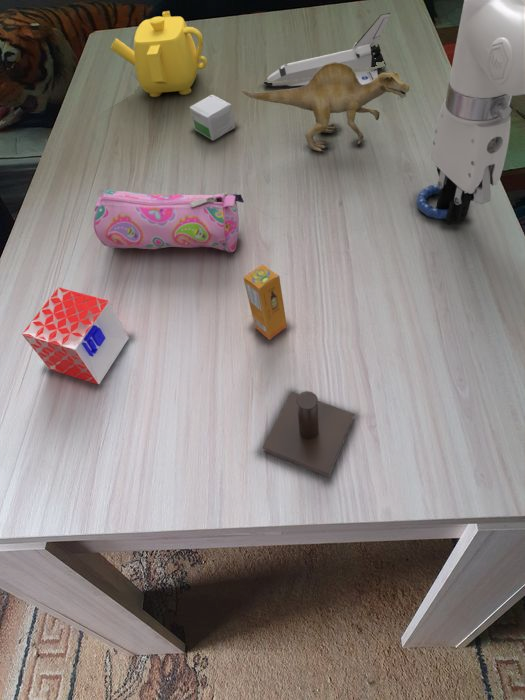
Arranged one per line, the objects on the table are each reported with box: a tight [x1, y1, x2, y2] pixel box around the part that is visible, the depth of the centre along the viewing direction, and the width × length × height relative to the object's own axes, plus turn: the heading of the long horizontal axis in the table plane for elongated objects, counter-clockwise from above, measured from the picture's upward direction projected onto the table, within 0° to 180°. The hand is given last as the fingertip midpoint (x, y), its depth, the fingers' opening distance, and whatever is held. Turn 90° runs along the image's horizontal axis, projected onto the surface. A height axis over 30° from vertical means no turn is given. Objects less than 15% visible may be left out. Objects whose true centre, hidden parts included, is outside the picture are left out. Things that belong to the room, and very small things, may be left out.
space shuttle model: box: [263, 12, 391, 89], centre depth 102 cm, size 16×25×10 cm, turn 96°
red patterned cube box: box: [21, 287, 130, 386], centre depth 68 cm, size 8×8×8 cm
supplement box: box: [243, 264, 288, 341], centre depth 66 cm, size 3×3×10 cm
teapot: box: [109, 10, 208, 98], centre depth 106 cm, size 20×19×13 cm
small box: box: [189, 94, 236, 142], centre depth 97 cm, size 6×6×5 cm
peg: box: [262, 390, 355, 478], centre depth 58 cm, size 8×8×8 cm
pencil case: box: [93, 189, 244, 253], centre depth 79 cm, size 21×9×9 cm, turn 82°
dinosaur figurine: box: [241, 62, 410, 153], centre depth 88 cm, size 8×26×13 cm, turn 89°
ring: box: [415, 184, 448, 220], centre depth 80 cm, size 7×7×1 cm
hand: (450, 214), depth 79 cm, fingers closed on ring
